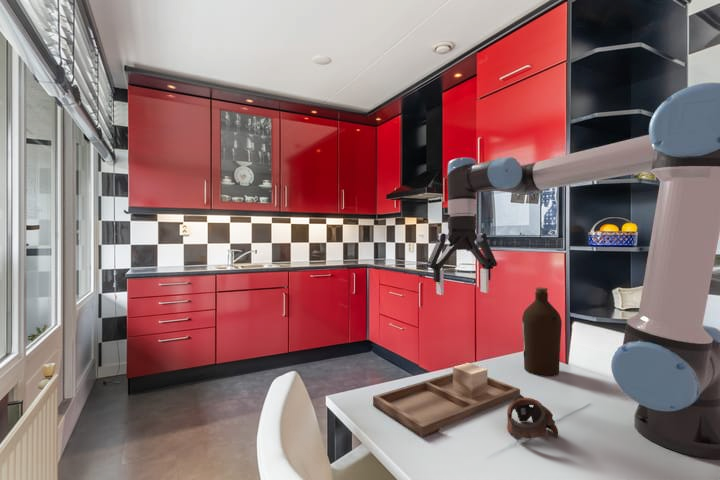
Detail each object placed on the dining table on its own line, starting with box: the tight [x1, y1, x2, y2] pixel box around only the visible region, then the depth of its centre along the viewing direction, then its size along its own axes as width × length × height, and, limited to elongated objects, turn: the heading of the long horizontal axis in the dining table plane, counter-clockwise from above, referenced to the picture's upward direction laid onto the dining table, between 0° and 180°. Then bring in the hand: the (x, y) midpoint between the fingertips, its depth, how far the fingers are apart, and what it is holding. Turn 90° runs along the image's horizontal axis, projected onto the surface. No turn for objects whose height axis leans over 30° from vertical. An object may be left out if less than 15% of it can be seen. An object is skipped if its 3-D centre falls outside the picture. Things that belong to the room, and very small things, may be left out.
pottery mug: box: [506, 394, 559, 440], centre depth 75 cm, size 12×10×8 cm
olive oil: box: [521, 286, 563, 377], centre depth 109 cm, size 11×11×25 cm
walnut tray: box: [372, 372, 521, 438], centre depth 89 cm, size 17×33×2 cm, turn 124°
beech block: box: [452, 362, 488, 399], centre depth 93 cm, size 6×6×6 cm
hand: (462, 293), depth 100 cm, fingers open, 13 cm apart
